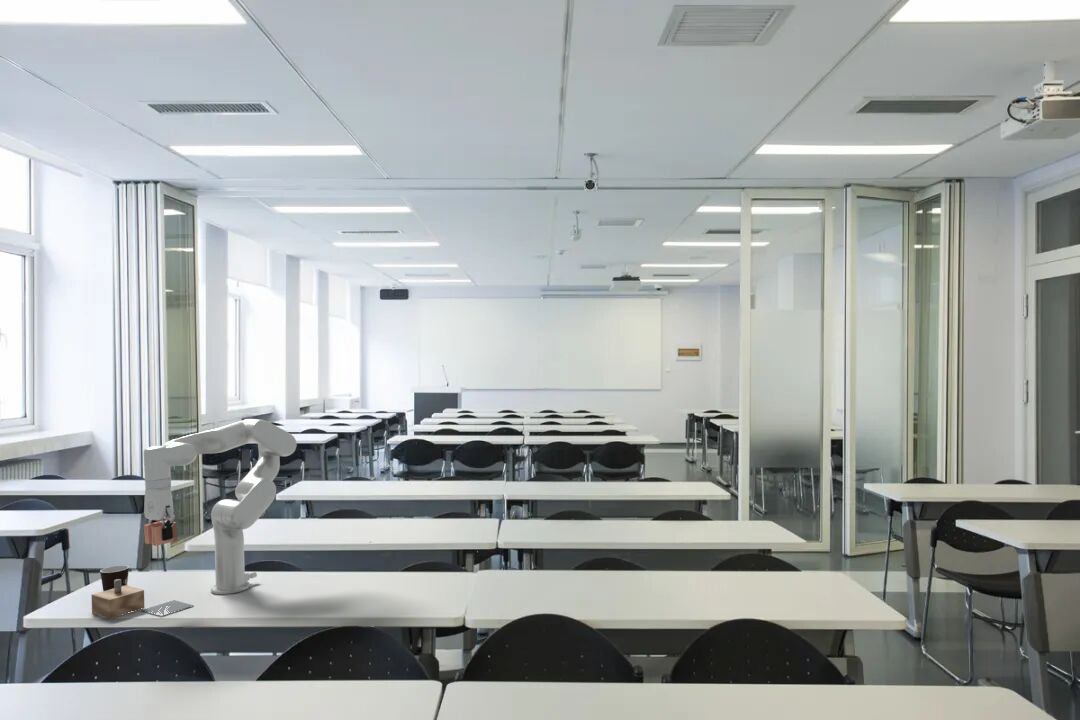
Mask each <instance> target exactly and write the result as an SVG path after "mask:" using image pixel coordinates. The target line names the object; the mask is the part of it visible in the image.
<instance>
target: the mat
mask: <svg viewBox="0 0 1080 720" xmlns="http://www.w3.org/2000/svg"><path fill="white" fill-rule="evenodd" d="M166 606H168V607H169V606H170V607H169V608H168V607H167V608H168V609H167V608H166ZM191 606H193V607H194V604H190V603H186V602H182V601H179V600H174V599H173V600H170V601H167V602H163V603H159V604H158V605H154V606H150V607H148V608H144V609H141V612H143V611H146V612H150V613H151V612H152V611H153V612H152V613H153V614H154V613H155V614H156V613H157V612H159V611H160V612H161V613H162V614H163V615H164V610H165V608H166V609H167V610H168V611H169V612H170V613H171V612H174V611H178V610H181V609H184V610H186V609H185V608H187V609H189V608H188V607H191ZM161 607H162V608H161ZM160 608H161V609H160ZM191 608H192V607H191ZM159 609H160V610H159ZM158 610H159V611H158ZM167 610H166V611H167ZM168 611H167V612H168ZM181 611H182V610H181ZM146 612H145V613H146ZM160 612H159V613H160ZM169 612H168V613H169ZM178 612H179V611H178ZM161 613H160V614H161ZM153 614H152V615H153Z"/></svg>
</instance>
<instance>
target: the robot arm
mask: <svg viewBox="0 0 1080 720" xmlns="http://www.w3.org/2000/svg"><path fill="white" fill-rule="evenodd" d="M250 443H255V444H257V449H258V459H257V462H256V463H255V465H254V466H253V467H252V468H251V469H250V470H249V472H248V473H247V474H246V475H245V476H244V477H243V478H242V479H241V480H240V482H238V484H237V485H236V487H235V491H234V494H235V497H236V498H237V499H238V500H237V499H232V498H231V499H230V498H227V499H226V498H225V499H220V500H219V501H217V502H216V503H215V504H214V505H213V507H212V509H211V515H210V518H211V523H212V527H213V537H214V564H215V565H214V566H215V567H214V569H215V574H214V575H215V585H212V586H211V588H210V592H211V593H212V594H215V595H231V594H236V593H241V592H244V591H246V590H248V589H249V588H250V586H251V584H250V582H249V580H250V579H254V578H257V575H258V574H257V572H256V571H252V572H251V573H249V572H246V571H245V570H246V569H245V537H244V531H243V530H247V529H249V528H251V527H252V526H253V525H254V524H255V523H256V522H257V521H258V520H259V519H260V517H261V516H262V515H263V514H264V513H265V511H266V510H267V509H268V508H269V507H270V505H271V504H272V503H273V501H274V500H275V498H276V495H277V487H276V484H275V482H274V479H275V478H276V477H277V476H278V474H279V471H280V467H281V462H280V457H289V456H291V455H292V454H294V453H295V451H296V450H297V445H298V444H297V440H296V438H295V437H294V436H293V434H291V433H289V432H288V431H286V430H285V429H282V428H280V427H279V426H277V425H275V424H274V423H272V422H270V421H267V420H265V419H257V418H245V419H243V420H239V421H236V422H233V423H230V424H225V425H224V426H220V427H217V428H214V429H210V430H205V431H201V432H198V433H197V432H196V433H192V434H188V435H186V436H181V437H179V438H175V439H172V440H169V441H166V442H165V443H164V444H162V445H153V446H149V447H145V449H144V450H143V467H144V469H143V470H144V485H145V490H144V498H143V499H144V500H143V501H144V505H143V506H144V507H143V509H144V510H143V511H144V517H145V519H146V520H147V522H148V523H147V524H151V523H155V522H159V521H161V523H162V526H163V528H162V540H163V541H165V540H169V539H172V538H173V531H172V527H173V522H175V519H176V514H174V502H173V500H174V499H173V494H172V489H171V488H172V477H171V475H172V473H171V472H172V471H171V467H179V466H180V467H181V466H188V465H190V464H192V463H193V462H195V461H196V459H197V456H200V455H205V454H218V453H224V452H227V451H229V450H232V449H235V448H238V447H240V446H245V445H246V444H250ZM166 520H167V522H166V523H165V521H166Z"/></svg>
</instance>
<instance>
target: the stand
mask: <svg viewBox="0 0 1080 720" xmlns="http://www.w3.org/2000/svg"><path fill="white" fill-rule="evenodd" d="M141 608H144V609H145V590H144V589H141V588H137V587H134V586H130V585H128V584H127V585H125V586H121V579H117V580H114V589H110V590H106V591H103V590H102V591H99V592H95V593H93V594H92V593H91V614H93V613H94V615H96V616H100V617H103V618H107V619H109V620H110V619H113V618H114V617H115V618H118V617H120V615H121V616H123V615H122V614H124V615H126V614H125V613H128V612H131V611H134V612H136V611H135V610H137V611H139V610H138V609H141ZM141 610H142V609H141ZM131 613H132V612H131ZM128 614H129V613H128ZM117 616H118V617H117Z"/></svg>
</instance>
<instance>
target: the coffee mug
mask: <svg viewBox="0 0 1080 720" xmlns="http://www.w3.org/2000/svg"><path fill="white" fill-rule="evenodd" d="M129 571H130V566H129V565H123V564H122V565H113V566H108V567H104V568H102V569H100V570H99V573H100V578H101V579H100V580H101V584H102V585H101V586H102V592H103V591H106V590H110V589H114V580H117V579H121V586H125V585H127V586H128V581H129Z"/></svg>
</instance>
